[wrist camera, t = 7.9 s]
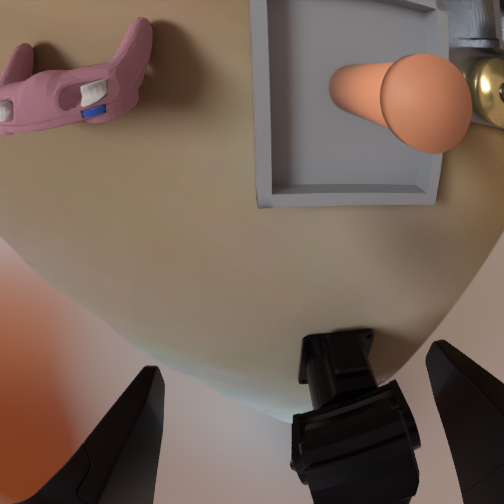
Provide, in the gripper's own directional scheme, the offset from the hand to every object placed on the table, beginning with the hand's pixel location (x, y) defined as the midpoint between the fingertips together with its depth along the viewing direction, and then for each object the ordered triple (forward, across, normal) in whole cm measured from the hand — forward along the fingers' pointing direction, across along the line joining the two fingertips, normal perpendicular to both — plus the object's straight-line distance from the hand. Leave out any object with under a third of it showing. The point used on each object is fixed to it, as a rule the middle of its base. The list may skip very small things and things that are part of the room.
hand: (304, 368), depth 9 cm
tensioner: (+13, -16, -12) cm, 24 cm away
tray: (+13, -5, -8) cm, 16 cm away
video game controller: (+13, +11, -10) cm, 20 cm away
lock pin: (+12, -5, -8) cm, 15 cm away
